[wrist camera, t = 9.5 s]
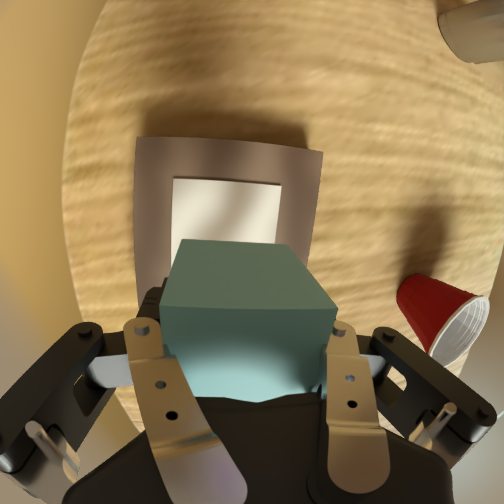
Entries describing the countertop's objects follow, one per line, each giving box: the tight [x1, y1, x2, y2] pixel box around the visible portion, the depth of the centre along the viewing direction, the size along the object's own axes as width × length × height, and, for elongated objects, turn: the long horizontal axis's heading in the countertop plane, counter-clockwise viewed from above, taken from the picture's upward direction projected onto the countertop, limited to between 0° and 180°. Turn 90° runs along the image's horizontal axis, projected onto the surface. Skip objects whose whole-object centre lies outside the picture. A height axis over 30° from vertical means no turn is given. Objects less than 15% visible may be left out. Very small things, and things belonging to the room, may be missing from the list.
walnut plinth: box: [134, 137, 323, 308], centre depth 25 cm, size 16×16×4 cm
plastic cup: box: [397, 274, 489, 367], centre depth 29 cm, size 11×11×12 cm
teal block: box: [159, 239, 338, 402], centre depth 11 cm, size 5×5×6 cm
